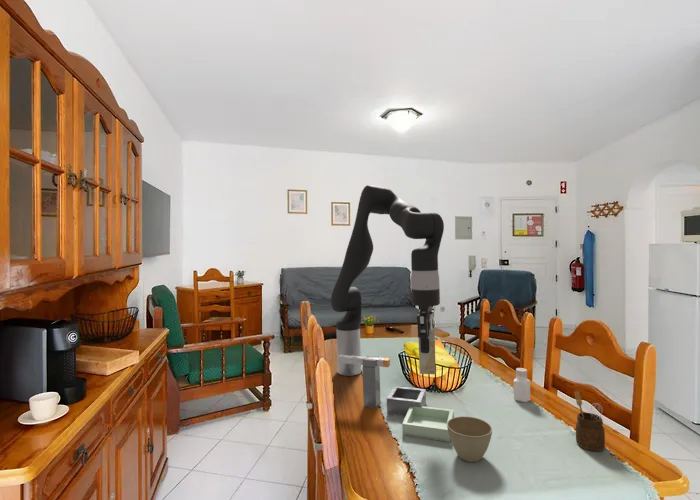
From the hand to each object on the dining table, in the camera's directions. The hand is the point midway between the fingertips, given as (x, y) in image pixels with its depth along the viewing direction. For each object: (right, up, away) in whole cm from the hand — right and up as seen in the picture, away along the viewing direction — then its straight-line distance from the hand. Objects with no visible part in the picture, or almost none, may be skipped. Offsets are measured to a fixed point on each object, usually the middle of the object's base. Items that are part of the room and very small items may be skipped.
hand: (426, 349), depth 102 cm
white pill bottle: (+33, -20, +16) cm, 42 cm away
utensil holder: (+37, -21, -11) cm, 44 cm away
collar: (-3, -21, +12) cm, 25 cm away
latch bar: (-17, -9, +17) cm, 25 cm away
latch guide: (-14, -21, +16) cm, 30 cm away
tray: (+1, -21, 0) cm, 21 cm away
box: (0, -6, 0) cm, 6 cm away
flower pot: (+7, -21, -14) cm, 27 cm away
